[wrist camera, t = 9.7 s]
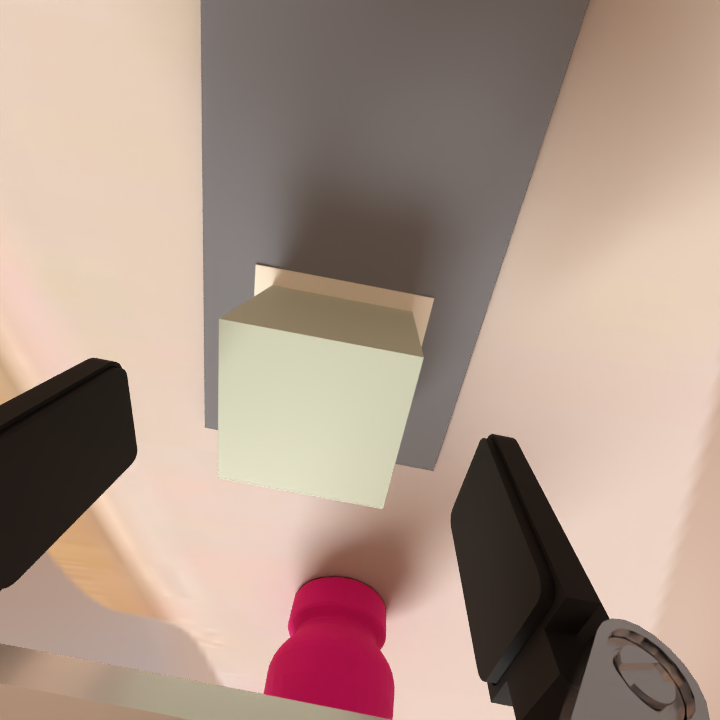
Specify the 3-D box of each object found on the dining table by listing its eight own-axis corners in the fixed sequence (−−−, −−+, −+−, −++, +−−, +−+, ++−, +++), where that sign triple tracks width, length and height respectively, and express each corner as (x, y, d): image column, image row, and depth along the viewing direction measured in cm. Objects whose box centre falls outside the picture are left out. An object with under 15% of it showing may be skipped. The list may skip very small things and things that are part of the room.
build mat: (203, -721, 7) (190, -787, 7) (785, -610, 7) (813, -668, 7) (208, 423, 18) (203, 428, 18) (432, 465, 18) (433, 472, 18)
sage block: (272, 285, 14) (218, 318, 10) (412, 311, 14) (423, 357, 10) (263, 405, 17) (217, 478, 12) (384, 428, 17) (382, 509, 12)
